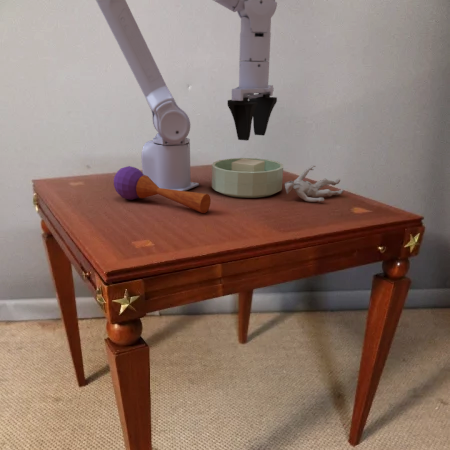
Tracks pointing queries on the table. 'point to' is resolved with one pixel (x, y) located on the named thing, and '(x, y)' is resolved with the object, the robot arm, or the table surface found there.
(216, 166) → the bowl
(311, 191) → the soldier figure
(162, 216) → the table surface
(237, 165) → the cube
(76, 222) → the table surface
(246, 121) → the robot arm
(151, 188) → the purple wooden maraca
